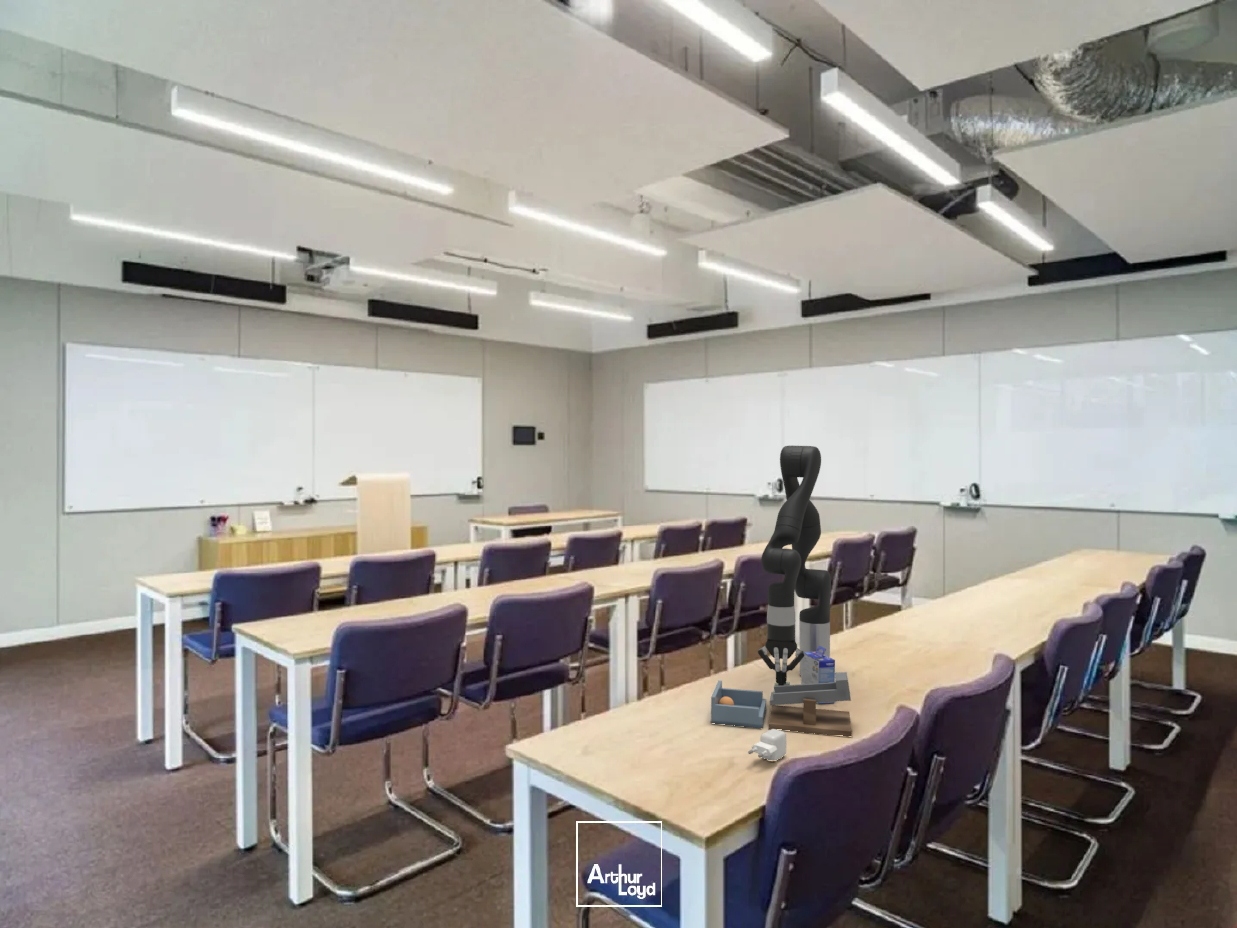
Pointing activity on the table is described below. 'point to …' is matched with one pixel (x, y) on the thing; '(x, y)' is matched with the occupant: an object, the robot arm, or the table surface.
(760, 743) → the power adapter
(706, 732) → the table surface
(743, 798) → the table surface
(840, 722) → the lever stand
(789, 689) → the lever
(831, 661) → the ink cartridge box
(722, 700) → the ball
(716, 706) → the bin
